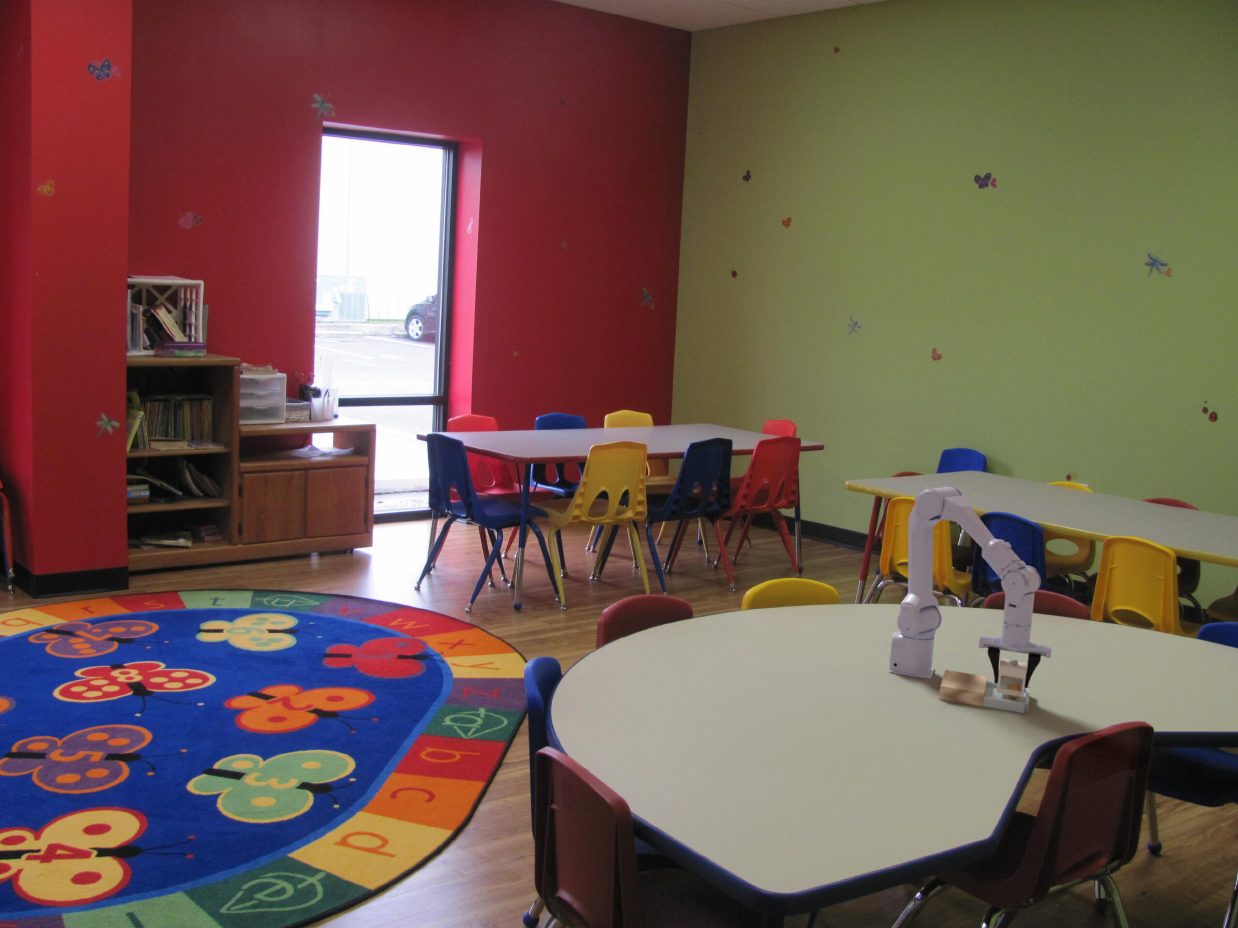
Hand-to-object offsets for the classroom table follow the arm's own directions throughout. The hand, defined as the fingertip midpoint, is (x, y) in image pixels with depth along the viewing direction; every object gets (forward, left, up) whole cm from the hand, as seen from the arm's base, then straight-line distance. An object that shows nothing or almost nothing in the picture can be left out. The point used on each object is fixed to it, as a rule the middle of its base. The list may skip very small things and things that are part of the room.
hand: (1011, 684), depth 234 cm
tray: (-1, 0, -4) cm, 4 cm away
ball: (+1, 0, -1) cm, 2 cm away
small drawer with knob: (0, 0, -2) cm, 2 cm away
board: (-10, 0, -4) cm, 10 cm away
